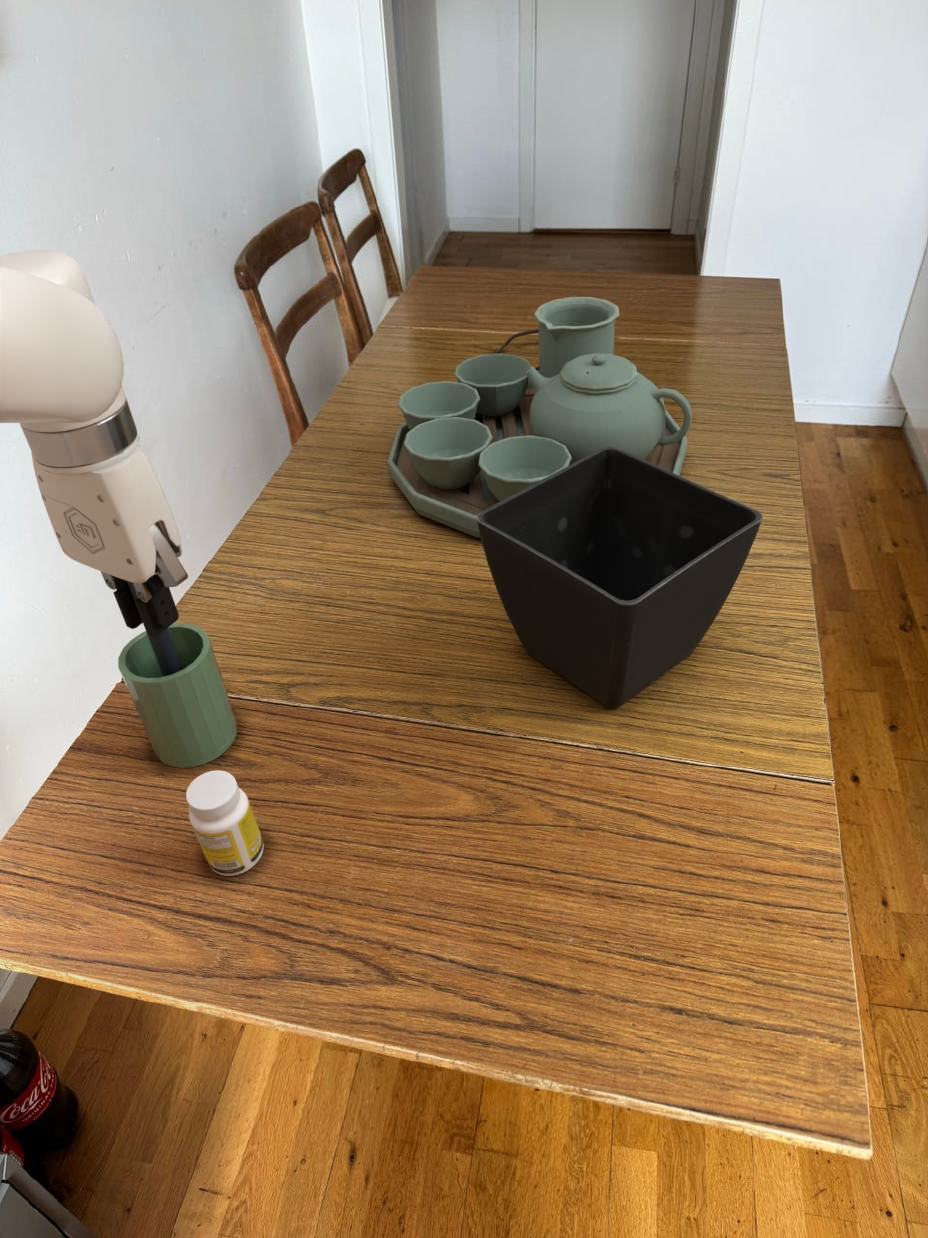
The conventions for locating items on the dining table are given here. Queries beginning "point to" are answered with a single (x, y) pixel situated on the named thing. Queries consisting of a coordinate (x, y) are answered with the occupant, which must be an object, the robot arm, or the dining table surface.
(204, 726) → the green pencil cup
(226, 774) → the supplement bottle
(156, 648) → the bottle brush
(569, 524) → the flower pot
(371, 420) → the dining table surface
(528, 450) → the tea set
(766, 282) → the dining table surface
